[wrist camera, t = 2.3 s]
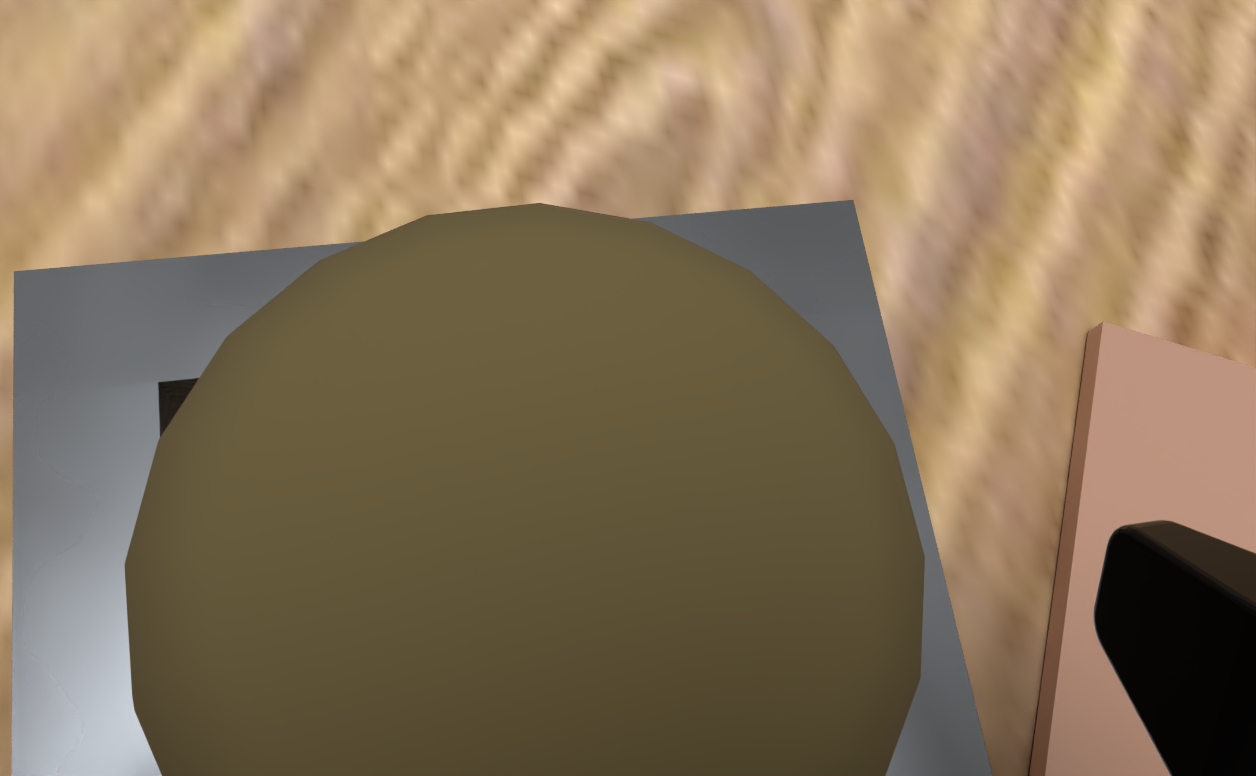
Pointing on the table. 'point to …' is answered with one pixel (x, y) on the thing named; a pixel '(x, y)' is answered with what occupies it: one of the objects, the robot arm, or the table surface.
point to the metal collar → (174, 361)
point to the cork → (525, 523)
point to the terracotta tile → (1134, 493)
